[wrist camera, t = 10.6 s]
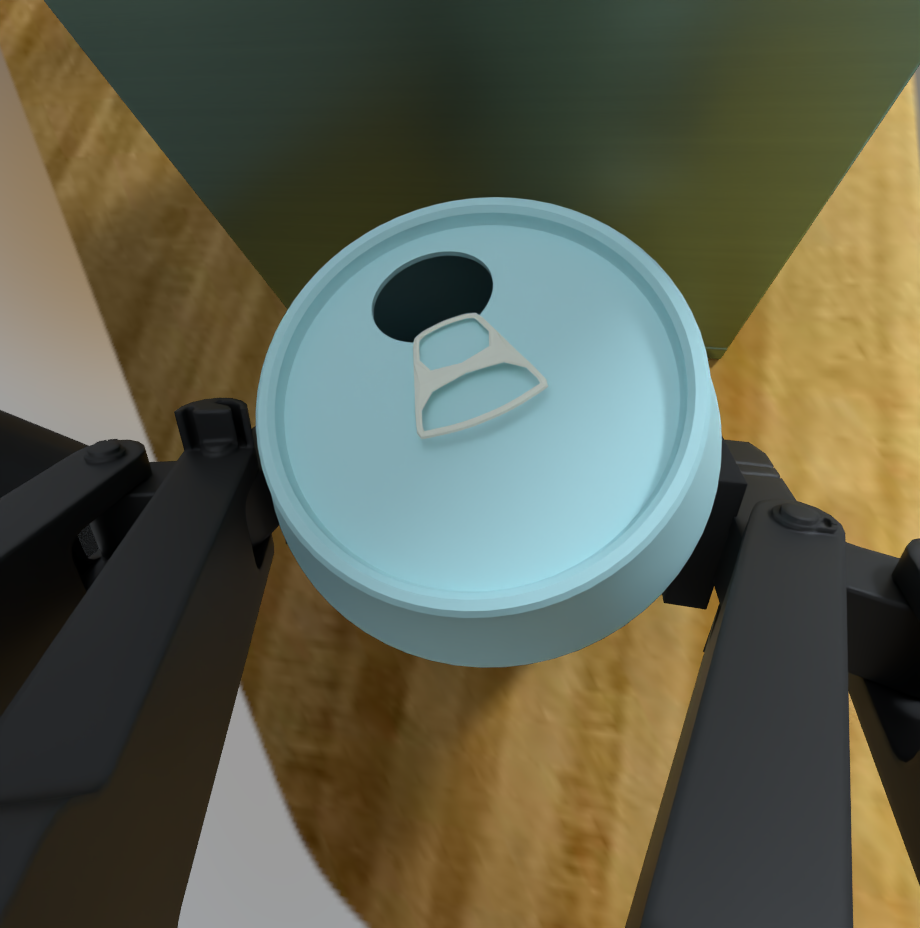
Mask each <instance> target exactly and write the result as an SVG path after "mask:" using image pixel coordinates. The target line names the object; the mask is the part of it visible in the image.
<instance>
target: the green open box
mask: <svg viewBox="0 0 920 928" xmlns="http://www.w3.org/2000/svg"><path fill="white" fill-rule="evenodd" d="M44 1H45V3H46V4H47V5H48V6H49V8H50V9H51V10H52V11H53V13H54V14H55V15H56V16H57V18H58V19H59V20H60V22H61V23H62V24H63V25H64V27H65V28H66V29H67V30H68V32H69V33H70V34H71V35H72V37H73V38H74V39H75V41H76V42H77V43H78V44H79V46H80V47H81V48H82V49H83V51H84V52H85V53H86V54H87V56H88V57H89V58H90V60H91V61H92V62H93V63H94V65H95V66H96V67H97V68H98V70H99V71H100V72H101V74H102V75H103V76H104V77H105V79H106V80H107V81H108V82H109V84H110V85H111V86H112V87H113V89H114V90H115V91H116V93H117V94H118V95H119V96H120V98H121V99H122V100H123V101H124V103H125V104H126V105H127V106H128V108H129V109H130V110H131V112H132V113H133V114H134V115H135V117H136V118H137V119H138V120H139V122H140V123H141V124H142V125H143V127H144V128H145V129H146V131H147V132H148V133H149V134H150V136H151V137H152V138H153V139H154V141H155V142H156V143H157V144H158V146H159V147H160V148H161V150H162V151H163V152H164V153H165V155H166V156H167V157H168V158H169V160H170V161H171V162H172V163H173V165H174V166H175V167H176V169H177V170H178V171H179V172H180V174H181V175H182V176H183V177H184V179H185V180H186V181H187V182H188V184H189V185H190V186H191V188H192V189H193V190H194V191H195V193H196V194H197V195H198V196H199V198H200V199H201V200H202V201H203V203H204V204H205V205H206V207H207V208H208V209H209V210H210V212H211V213H212V214H213V215H214V217H215V218H216V219H217V220H218V222H219V223H220V224H221V226H222V227H223V228H224V229H225V231H226V232H227V233H228V234H229V236H230V237H231V238H232V239H233V241H234V242H235V243H236V245H237V246H238V247H239V248H240V250H241V251H242V252H243V253H244V255H245V256H246V257H247V258H248V260H249V261H250V262H251V264H252V265H253V266H254V267H255V269H256V270H257V271H258V272H259V274H260V275H261V276H262V277H263V279H264V280H265V281H266V283H267V284H268V285H269V286H270V288H271V289H272V290H273V291H274V293H275V294H276V295H277V296H278V298H279V299H280V300H281V302H282V303H283V304H284V305H285V307H286V308H287V309H289V307H290V306H291V304H292V302H293V301H294V300H295V298H296V297H297V296H298V294H299V293H300V292H301V290H302V289H303V288H304V286H305V285H306V284H307V283H308V282H309V281H310V280H311V278H312V277H313V276H314V275H315V274H316V273H317V272H318V271H319V270H320V269H321V268H322V267H323V266H324V265H325V264H326V263H327V262H328V261H329V260H330V259H332V258H333V257H334V256H335V255H336V254H338V253H339V252H340V251H341V250H343V249H344V248H345V247H346V246H348V245H349V244H351V243H352V242H354V241H355V240H357V239H358V238H360V237H361V236H363V235H364V234H366V233H368V232H369V231H371V230H373V229H375V228H376V227H378V226H380V225H382V224H384V223H386V222H388V221H391V220H393V219H395V218H397V217H399V216H402V215H405V214H407V213H410V212H413V211H415V210H418V209H422V208H425V207H429V206H432V205H436V204H441V203H445V202H450V201H455V200H463V199H471V198H487V197H503V198H519V199H528V200H535V201H540V202H545V203H550V204H555V205H558V206H561V207H565V208H568V209H572V210H574V211H577V212H579V213H582V214H585V215H587V216H590V217H592V218H594V219H596V220H598V221H600V222H602V223H604V224H606V225H608V226H610V227H611V228H613V229H615V230H616V231H618V232H619V233H621V234H623V235H624V236H626V237H627V238H628V239H630V240H631V241H632V242H634V243H635V244H636V245H638V246H639V247H640V248H642V249H643V250H644V251H645V252H646V253H647V254H648V255H649V256H650V257H651V258H652V259H654V260H655V261H656V262H657V263H658V265H659V266H660V267H661V268H662V269H663V270H664V271H665V272H666V274H667V275H668V276H669V277H670V278H671V280H672V281H673V282H674V284H675V285H676V287H677V288H678V289H679V291H680V292H681V294H682V295H683V297H684V299H685V301H686V302H687V304H688V306H689V308H690V310H691V311H692V314H693V316H694V318H695V321H696V323H697V325H698V328H699V330H700V333H701V336H702V339H703V343H704V346H705V349H706V353H707V358H712V359H721V358H722V356H723V355H724V353H725V352H726V350H727V348H728V347H729V346H730V344H731V343H732V341H733V340H734V338H735V337H736V335H737V334H738V332H739V331H740V329H741V328H742V326H743V325H744V323H745V322H746V320H747V319H748V317H749V316H750V315H751V313H752V312H753V310H754V309H755V307H756V306H757V304H758V303H759V301H760V300H761V298H762V297H763V295H764V294H765V292H766V291H767V289H768V288H769V286H770V285H771V284H772V282H773V281H774V279H775V278H776V276H777V275H778V273H779V272H780V270H781V269H782V267H783V266H784V264H785V263H786V261H787V260H788V258H789V257H790V255H791V254H792V253H793V251H794V250H795V248H796V247H797V245H798V244H799V242H800V241H801V239H802V238H803V236H804V235H805V233H806V232H807V230H808V229H809V227H810V226H811V225H812V223H813V222H814V220H815V219H816V217H817V216H818V214H819V213H820V211H821V210H822V208H823V207H824V205H825V204H826V202H827V201H828V199H829V198H830V196H831V195H832V194H833V192H834V191H835V189H836V188H837V186H838V185H839V183H840V182H841V180H842V179H843V177H844V176H845V174H846V173H847V171H848V170H849V168H850V167H851V165H852V164H853V163H854V161H855V160H856V158H857V157H858V155H859V154H860V152H861V151H862V149H863V148H864V146H865V145H866V143H867V142H868V140H869V139H870V137H871V136H872V135H873V133H874V132H875V130H876V129H877V127H878V126H879V124H880V123H881V121H882V120H883V118H884V117H885V115H886V114H887V112H888V111H889V109H890V108H891V106H892V105H893V104H894V102H895V101H896V99H897V98H898V96H899V95H900V93H901V92H902V90H903V89H904V87H905V86H906V84H907V83H908V81H909V80H910V78H911V77H912V75H913V74H914V73H915V71H916V70H917V68H918V67H919V65H920V0H44Z"/></svg>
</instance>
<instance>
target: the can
mask: <svg viewBox="0 0 920 928" xmlns="http://www.w3.org/2000/svg"><path fill="white" fill-rule="evenodd" d="M256 435H257V445H258V451H259V456H260V461H261V466H262V470H263V473H264V476H265V479H266V482H267V485H268V488H269V490H270V492H271V495H272V500H273V504H274V509H275V512H276V515H277V518H278V521H279V525H280V528H281V530H282V532H283V535H284V537H285V539H286V541H287V544H288V546H289V548H290V550H291V552H292V553H293V555H294V557H295V559H296V560H297V562H298V564H299V566H300V567H301V569H302V570H303V572H304V573H305V574H306V576H307V577H308V579H309V580H310V581H311V583H312V584H313V585H314V587H315V588H316V589H317V590H318V591H319V592H320V594H321V595H322V596H323V597H324V598H325V599H326V600H327V601H328V602H329V603H330V604H331V605H332V606H333V607H334V608H335V609H336V610H337V611H338V612H339V613H341V614H342V615H343V616H344V617H345V618H346V619H348V620H349V621H350V622H352V623H353V624H354V625H356V626H357V627H359V628H360V629H361V630H363V631H364V632H366V633H367V634H369V635H371V636H373V637H375V638H376V639H378V640H380V641H382V642H383V643H385V644H387V645H390V646H392V647H394V648H396V649H399V650H401V651H403V652H406V653H408V654H411V655H415V656H418V657H421V658H424V659H427V660H431V661H436V662H441V663H446V664H451V665H457V666H468V667H479V668H483V667H510V666H519V665H527V664H533V663H537V662H541V661H546V660H550V659H554V658H557V657H560V656H563V655H566V654H569V653H572V652H575V651H578V650H580V649H582V648H585V647H587V646H589V645H591V644H593V643H595V642H597V641H599V640H602V639H603V638H605V637H607V636H608V635H610V634H612V633H613V632H615V631H617V630H618V629H620V628H622V627H623V626H625V625H626V624H627V623H629V622H630V621H631V620H632V619H634V618H635V617H636V616H638V615H639V614H640V613H642V612H643V611H644V610H645V609H646V608H647V607H648V606H649V605H651V604H652V603H653V602H654V601H655V600H656V599H657V598H658V597H659V596H660V595H661V594H662V593H663V592H664V591H665V589H666V588H667V587H668V586H669V585H670V584H671V582H672V581H673V580H674V579H675V578H676V576H677V575H678V574H679V572H680V571H681V569H682V568H683V566H684V565H685V564H686V562H687V561H688V559H689V558H690V556H691V555H692V553H693V551H694V549H695V547H696V545H697V543H698V541H699V539H700V537H701V536H702V534H703V531H704V529H705V526H706V524H707V521H708V518H709V516H710V513H711V510H712V507H713V503H714V499H715V495H716V492H717V487H718V480H719V474H720V467H721V449H722V435H721V421H720V413H719V408H718V403H717V397H716V393H715V390H714V387H713V383H712V380H711V377H710V369H709V364H708V358H707V353H706V349H705V346H704V343H703V339H702V336H701V333H700V330H699V328H698V325H697V323H696V321H695V318H694V316H693V314H692V311H691V310H690V308H689V306H688V304H687V302H686V301H685V299H684V297H683V295H682V294H681V292H680V291H679V289H678V288H677V287H676V285H675V284H674V282H673V281H672V280H671V278H670V277H669V276H668V275H667V274H666V272H665V271H664V270H663V269H662V268H661V267H660V266H659V265H658V263H657V262H656V261H655V260H654V259H652V258H651V257H650V256H649V255H648V254H647V253H646V252H645V251H644V250H643V249H642V248H640V247H639V246H638V245H636V244H635V243H634V242H632V241H631V240H630V239H628V238H627V237H626V236H624V235H623V234H621V233H619V232H618V231H616V230H615V229H613V228H611V227H610V226H608V225H606V224H604V223H602V222H600V221H598V220H596V219H594V218H592V217H590V216H587V215H585V214H582V213H579V212H577V211H574V210H572V209H568V208H565V207H561V206H558V205H555V204H550V203H545V202H540V201H535V200H528V199H519V198H503V197H487V198H471V199H463V200H455V201H450V202H445V203H441V204H436V205H432V206H429V207H425V208H422V209H418V210H415V211H413V212H410V213H407V214H405V215H402V216H399V217H397V218H395V219H393V220H391V221H388V222H386V223H384V224H382V225H380V226H378V227H376V228H375V229H373V230H371V231H369V232H368V233H366V234H364V235H363V236H361V237H360V238H358V239H357V240H355V241H354V242H352V243H351V244H349V245H348V246H346V247H345V248H344V249H343V250H341V251H340V252H339V253H338V254H336V255H335V256H334V257H333V258H332V259H330V260H329V261H328V262H327V263H326V264H325V265H324V266H323V267H322V268H321V269H320V270H319V271H318V272H317V273H316V274H315V275H314V276H313V277H312V278H311V280H310V281H309V282H308V283H307V284H306V285H305V286H304V288H303V289H302V290H301V292H300V293H299V294H298V296H297V297H296V298H295V300H294V301H293V302H292V304H291V306H290V307H289V309H288V310H287V312H286V314H285V315H284V317H283V319H282V320H281V322H280V324H279V326H278V328H277V330H276V332H275V334H274V336H273V339H272V341H271V344H270V346H269V349H268V351H267V354H266V358H265V361H264V364H263V368H262V371H261V376H260V381H259V386H258V392H257V402H256Z"/></svg>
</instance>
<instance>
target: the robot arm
mask: <svg viewBox="0 0 920 928" xmlns="http://www.w3.org/2000/svg"><path fill="white" fill-rule="evenodd" d="M174 413H175V417H176V421H177V425H178V428H179V432H180V436H181V440H182V443H183V447H184V452H183V453H182V455H181V456H180V458H179V459H178V460H177V461H166V462H149V460H148V457H147V454H146V450H145V447H144V445H143V444H141V443H140V442H138V441H132V440H117V439H111V440H108V441H106V440H104V441H99V442H97V443H96V444H94V445H91V446H87V447H85V448H83V449H81V450H78V451H76V452H74V453H73V454H71V455H69V456H68V457H66V458H65V459H63V460H61V461H60V462H58V463H56V464H55V465H53V466H52V467H50V468H48V469H47V470H45V471H43V472H42V473H40V474H39V475H37V476H35V477H34V478H32V479H30V480H29V481H27V482H26V483H24V484H22V485H21V486H19V487H17V488H16V489H14V490H13V491H11V492H9V493H8V494H6V495H4V496H3V497H1V498H0V928H177V927H178V920H179V915H180V910H181V906H182V902H183V898H184V895H185V890H186V887H187V883H188V879H189V875H190V872H191V868H192V864H193V860H194V856H195V853H196V849H197V845H198V841H199V837H200V833H201V830H202V826H203V822H204V818H205V814H206V811H207V807H208V803H209V799H210V795H211V791H212V788H213V784H214V780H215V776H216V772H217V768H218V765H219V761H220V757H221V753H222V750H223V746H224V742H225V738H226V734H227V730H228V726H229V723H230V719H231V715H232V711H233V707H234V703H235V700H236V696H237V692H238V688H239V685H240V681H241V677H242V673H243V669H244V666H245V662H246V658H247V654H248V650H249V646H250V643H251V639H252V635H253V631H254V627H255V624H256V620H257V616H258V612H259V608H260V605H261V601H262V597H263V593H264V589H265V585H266V582H267V578H268V574H269V570H270V566H271V563H272V559H273V555H274V543H273V538H272V532H273V531H274V530H275V529H276V528H277V527H278V526H279V521H278V518H277V515H276V512H275V509H274V504H273V500H272V495H271V492H270V490H269V488H268V485H267V482H266V479H265V476H264V473H263V470H262V466H261V461H260V456H259V451H258V445H257V435H256V426H255V427H254V428H252V429H251V423H250V418H249V413H248V408H247V404H246V403H244V402H243V401H242V400H237V399H233V398H213V399H204V400H200V401H196V402H192V403H189V404H187V405H184V406H182V407H180V408H179V409H177V410H176V411H175V412H174ZM87 525H90V527H91V530H92V532H93V535H94V537H95V540H96V542H97V545H98V547H99V550H97V551H96V552H95V553H94V554H93V555H91V556H90V557H87V555H86V554H85V553H84V551H83V548H82V546H81V544H80V541H79V539H78V536H77V535H78V534H79V533H80V531H81V530H82V529H84V528H85V527H86V526H87ZM285 540H286V539H285ZM286 544H287V541H286ZM714 586H715V590H716V593H717V596H718V599H719V602H720V604H719V606H718V609H717V612H716V615H715V618H714V621H713V624H712V627H711V630H710V633H709V635H708V638H707V641H706V644H705V647H704V650H703V652H704V656H703V659H702V662H701V666H700V669H699V673H698V676H697V680H696V683H695V687H694V690H693V694H692V697H691V701H690V704H689V708H688V711H687V714H686V718H685V721H684V725H683V728H682V732H681V735H680V739H679V742H678V746H677V749H676V753H675V756H674V760H673V763H672V766H671V770H670V773H669V777H668V780H667V784H666V787H665V791H664V794H663V798H662V801H661V805H660V808H659V812H658V815H657V819H656V822H655V825H654V829H653V832H652V836H651V839H650V843H649V846H648V850H647V853H646V857H645V860H644V864H643V867H642V871H641V874H640V877H639V881H638V884H637V888H636V891H635V895H634V898H633V902H632V905H631V909H630V912H629V916H628V919H627V923H626V926H625V928H853V898H852V848H851V798H850V748H849V697H848V691H849V694H850V696H851V699H852V702H853V705H854V707H855V710H856V713H857V716H858V718H859V721H860V724H861V727H862V729H863V732H864V735H865V737H866V740H867V743H868V746H869V748H870V751H871V754H872V757H873V759H874V762H875V765H876V768H877V770H878V773H879V776H880V778H881V781H882V784H883V787H884V789H885V792H886V795H887V798H888V800H889V803H890V806H891V809H892V811H893V814H894V817H895V819H896V822H897V825H898V828H899V830H900V833H901V836H902V839H903V841H904V844H905V847H906V850H907V852H908V855H909V858H910V860H911V863H912V866H913V869H914V871H915V874H916V877H917V880H918V882H919V885H920V539H914V540H912V541H911V542H910V543H909V544H908V545H907V546H906V548H905V550H904V552H903V554H902V556H901V558H896V557H893V556H889V555H886V554H882V553H879V552H875V551H872V550H868V549H865V548H861V547H858V546H855V545H852V544H849V543H847V542H845V532H844V529H843V527H842V525H841V524H840V523H839V522H838V521H837V520H835V519H834V518H833V517H832V516H831V515H829V514H827V513H825V512H823V511H822V510H820V509H818V508H816V507H813V506H810V505H807V504H804V503H802V502H798V501H796V499H795V498H794V496H793V495H792V493H791V492H790V490H789V489H788V487H787V486H786V484H785V483H784V481H783V480H782V478H780V475H779V473H778V472H777V470H776V469H775V468H773V464H772V463H771V461H770V460H769V458H768V457H767V455H766V454H765V453H764V452H762V451H761V450H759V449H758V448H756V447H755V446H753V445H752V444H750V443H749V442H742V441H732V440H724V439H723V437H722V449H721V467H720V474H719V480H718V487H717V492H716V495H715V499H714V503H713V507H712V510H711V513H710V516H709V518H708V521H707V524H706V526H705V529H704V531H703V534H702V536H701V537H700V539H699V541H698V543H697V545H696V547H695V549H694V551H693V553H692V555H691V556H690V558H689V559H688V561H687V562H686V564H685V565H684V566H683V568H682V569H681V571H680V572H679V574H678V575H677V576H676V578H675V579H674V580H673V581H672V582H671V584H670V585H669V586H668V587H667V588H666V589H665V591H664V592H663V593H662V595H663V601H664V603H668V604H674V605H681V606H687V607H694V608H700V609H707V606H708V603H709V600H710V597H711V594H712V591H713V588H714Z"/></svg>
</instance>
